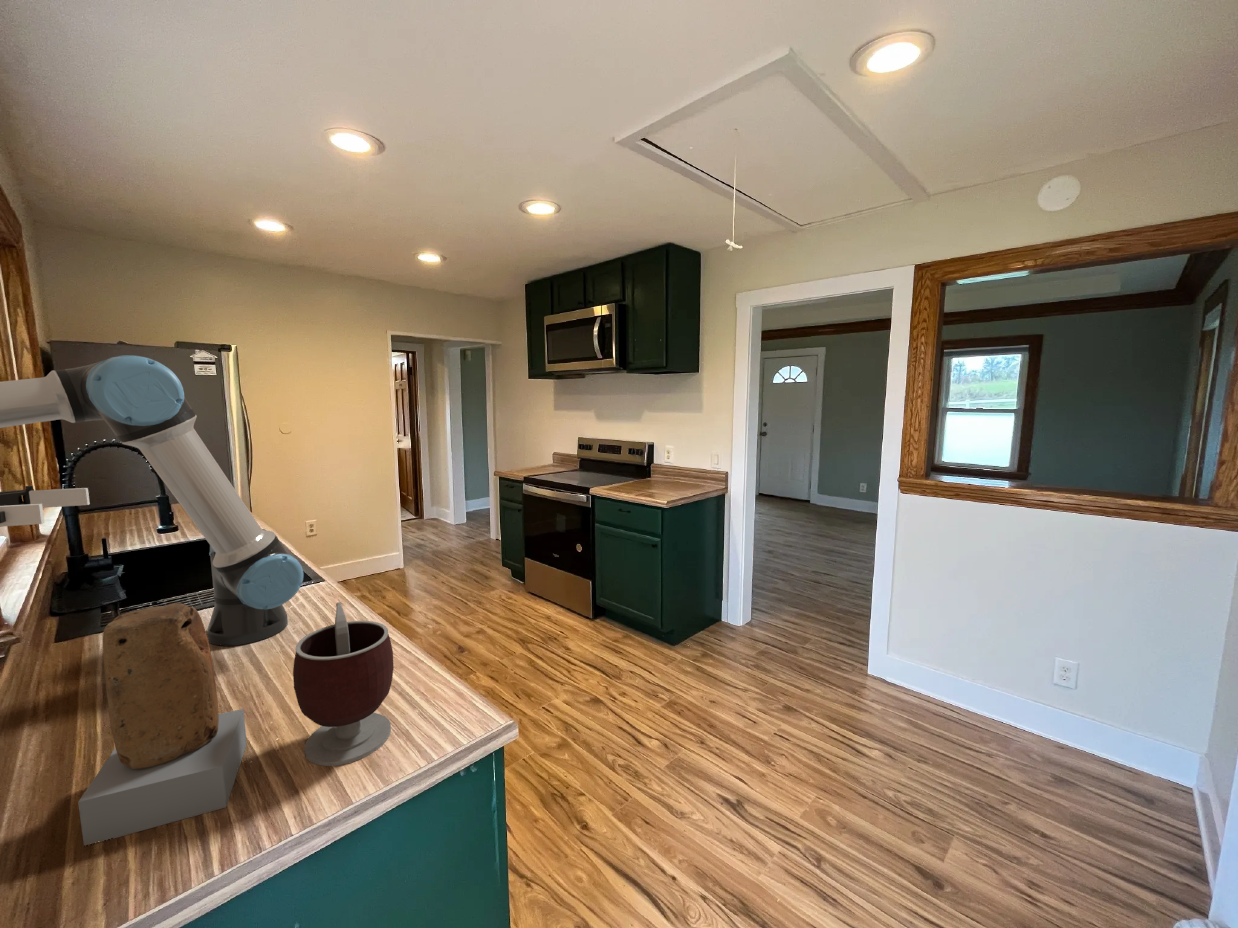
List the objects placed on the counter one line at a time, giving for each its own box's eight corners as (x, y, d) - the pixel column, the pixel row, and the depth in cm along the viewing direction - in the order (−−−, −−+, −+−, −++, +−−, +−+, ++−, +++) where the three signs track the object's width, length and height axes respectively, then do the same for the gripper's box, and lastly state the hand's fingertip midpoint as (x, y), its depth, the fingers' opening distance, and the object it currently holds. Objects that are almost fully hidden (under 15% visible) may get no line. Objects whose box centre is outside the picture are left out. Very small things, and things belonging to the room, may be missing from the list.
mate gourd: (403, 748, 81) (398, 627, 78) (299, 782, 73) (289, 650, 71) (387, 699, 94) (383, 594, 91) (298, 724, 86) (290, 610, 84)
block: (112, 781, 65) (93, 631, 62) (122, 748, 71) (106, 610, 68) (220, 748, 71) (208, 610, 69) (221, 720, 77) (210, 593, 75)
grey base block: (129, 771, 75) (125, 733, 74) (246, 743, 81) (243, 708, 80) (84, 846, 62) (78, 801, 62) (226, 807, 69) (222, 765, 68)
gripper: (-79, 523, 79) (105, 512, 89) (-248, 573, 57) (21, 551, 67) (-87, 475, 78) (100, 468, 88) (-262, 507, 56) (13, 494, 66)
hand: (67, 504), depth 77 cm, fingers open, 13 cm apart
